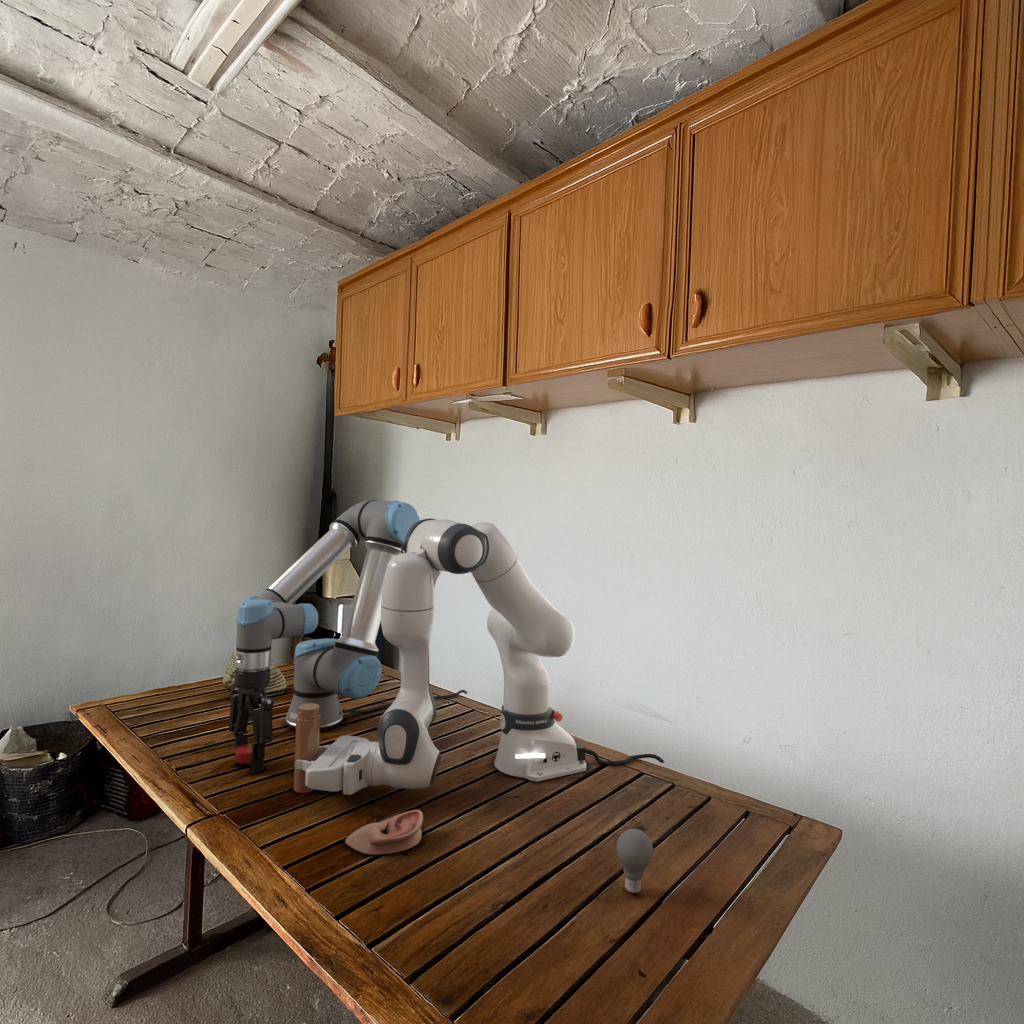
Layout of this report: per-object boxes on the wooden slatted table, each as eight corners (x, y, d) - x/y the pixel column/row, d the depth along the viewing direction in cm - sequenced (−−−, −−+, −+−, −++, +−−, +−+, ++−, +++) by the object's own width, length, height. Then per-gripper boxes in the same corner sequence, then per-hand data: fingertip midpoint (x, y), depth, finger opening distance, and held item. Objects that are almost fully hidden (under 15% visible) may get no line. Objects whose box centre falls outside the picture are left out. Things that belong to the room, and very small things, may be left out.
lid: (237, 753, 148) (237, 743, 148) (264, 752, 149) (264, 742, 149) (232, 764, 142) (232, 753, 142) (260, 763, 144) (260, 752, 144)
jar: (313, 793, 135) (316, 710, 135) (290, 792, 135) (293, 709, 135) (320, 783, 140) (324, 703, 140) (298, 782, 140) (301, 702, 140)
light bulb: (610, 879, 108) (613, 822, 108) (644, 879, 109) (647, 822, 109) (619, 902, 102) (622, 840, 102) (655, 901, 103) (658, 840, 103)
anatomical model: (338, 827, 114) (365, 799, 125) (337, 849, 114) (364, 818, 125) (408, 839, 111) (429, 808, 122) (407, 861, 111) (428, 828, 122)
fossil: (218, 695, 195) (220, 647, 195) (278, 685, 208) (279, 640, 207) (228, 703, 189) (230, 653, 188) (289, 692, 201) (290, 645, 201)
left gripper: (214, 663, 148) (210, 761, 148) (263, 679, 137) (258, 785, 137) (243, 657, 154) (239, 752, 154) (292, 672, 143) (288, 774, 144)
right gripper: (380, 730, 146) (322, 726, 148) (348, 767, 126) (282, 761, 127) (379, 757, 146) (321, 752, 148) (347, 799, 126) (280, 792, 127)
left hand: (248, 767), depth 146 cm, fingers closed on lid, 6 cm apart
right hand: (302, 757), depth 137 cm, fingers closed on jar, 5 cm apart
